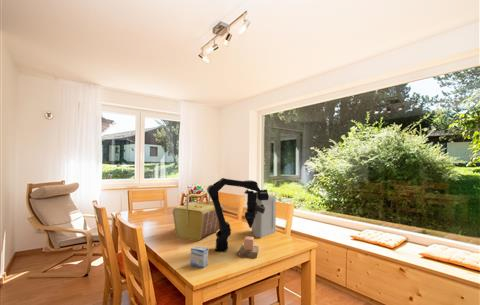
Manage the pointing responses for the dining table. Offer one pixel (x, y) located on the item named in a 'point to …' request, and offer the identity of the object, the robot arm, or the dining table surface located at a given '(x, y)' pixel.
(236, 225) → the dining table surface
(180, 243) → the dining table surface
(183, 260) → the dining table surface
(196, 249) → the medicine box
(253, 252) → the walnut base
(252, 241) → the terracotta block
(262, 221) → the grey upright carton
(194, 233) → the picnic basket
